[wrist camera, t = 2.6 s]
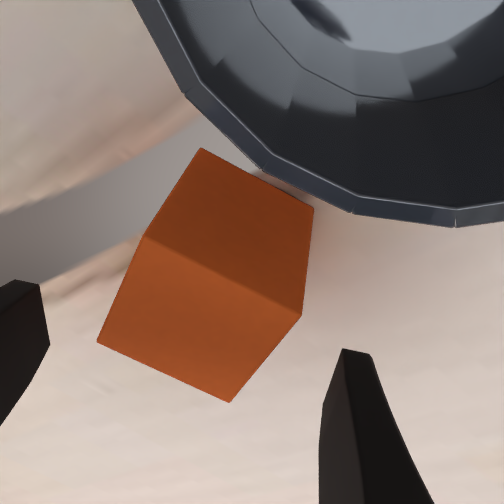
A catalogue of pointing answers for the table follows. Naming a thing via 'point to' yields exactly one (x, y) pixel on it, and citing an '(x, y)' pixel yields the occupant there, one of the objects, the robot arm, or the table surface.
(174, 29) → the desk cup
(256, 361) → the orange block
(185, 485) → the table surface
